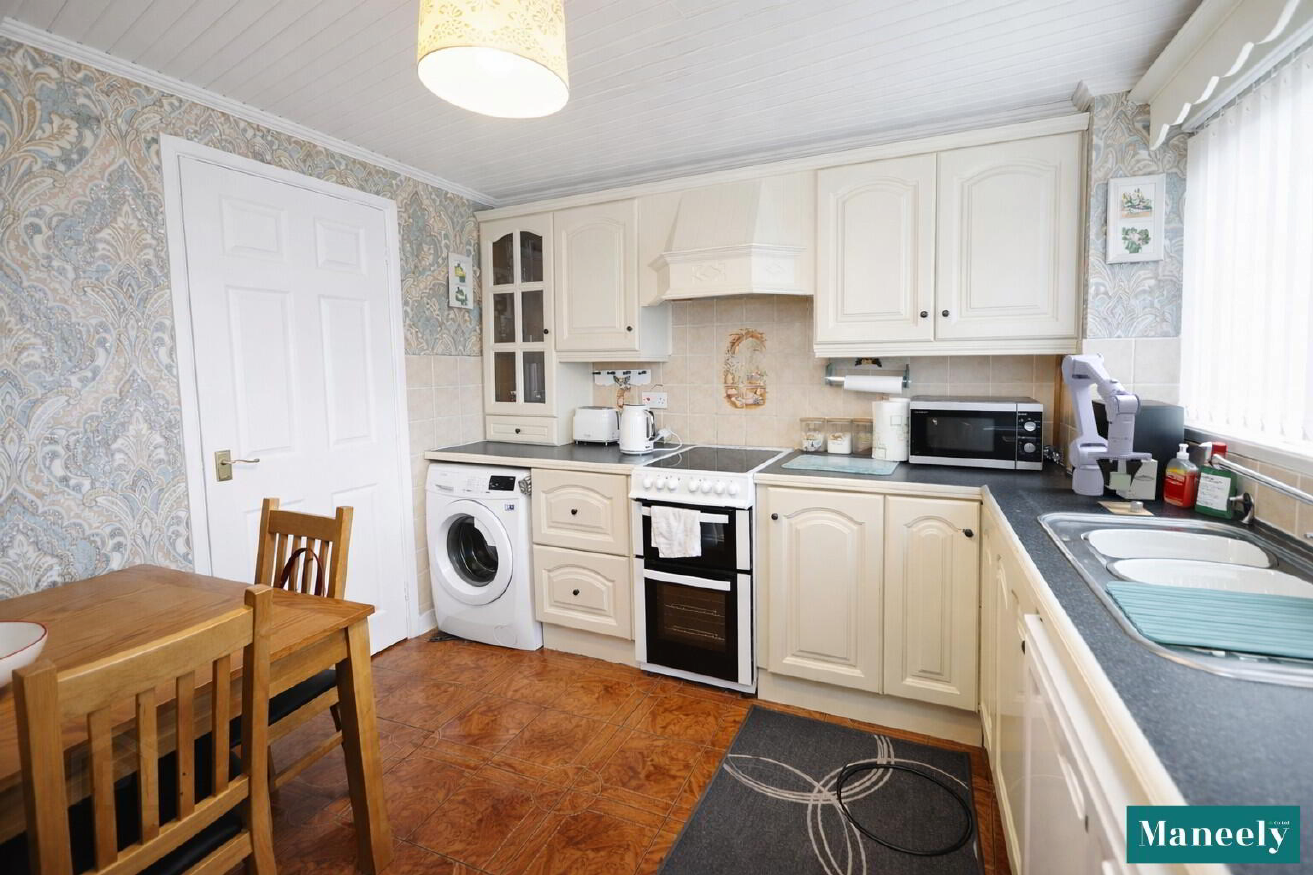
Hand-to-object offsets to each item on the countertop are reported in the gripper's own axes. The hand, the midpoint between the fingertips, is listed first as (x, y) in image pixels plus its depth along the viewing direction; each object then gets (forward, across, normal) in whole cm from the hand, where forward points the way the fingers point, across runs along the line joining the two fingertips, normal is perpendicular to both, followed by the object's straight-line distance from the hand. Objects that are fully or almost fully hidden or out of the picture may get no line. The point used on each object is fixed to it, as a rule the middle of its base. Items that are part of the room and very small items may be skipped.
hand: (1117, 485), depth 179 cm
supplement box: (+7, +8, +12) cm, 16 cm away
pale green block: (+1, 0, 0) cm, 1 cm away
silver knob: (+7, +2, -7) cm, 10 cm away
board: (+7, +1, -4) cm, 8 cm away
